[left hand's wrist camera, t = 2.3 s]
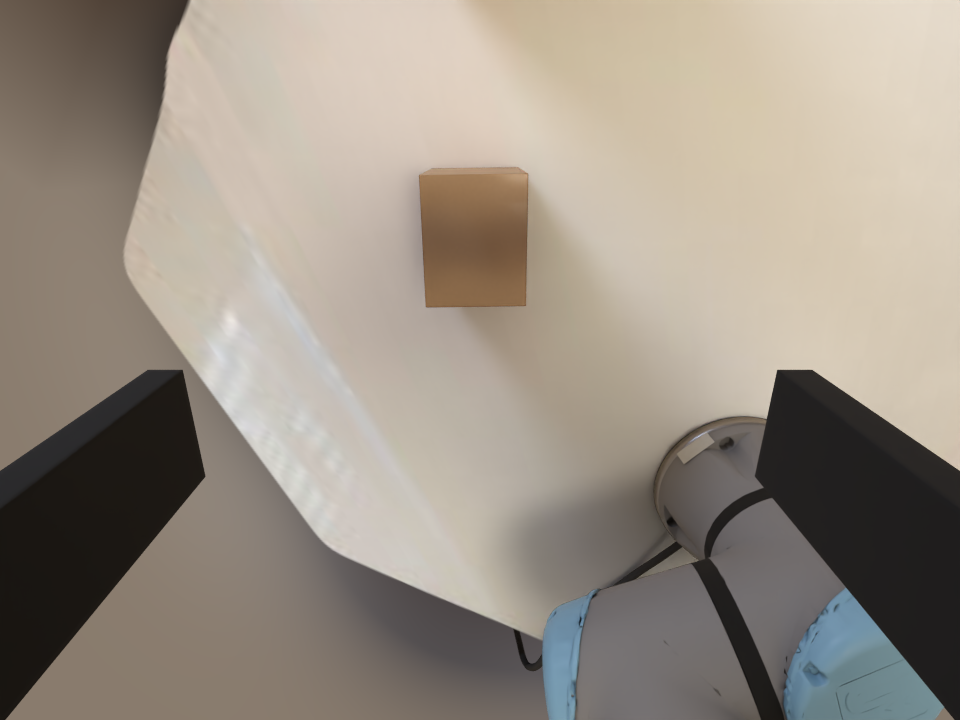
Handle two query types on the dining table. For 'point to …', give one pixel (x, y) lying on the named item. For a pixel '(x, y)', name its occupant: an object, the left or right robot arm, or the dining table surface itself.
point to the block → (474, 236)
